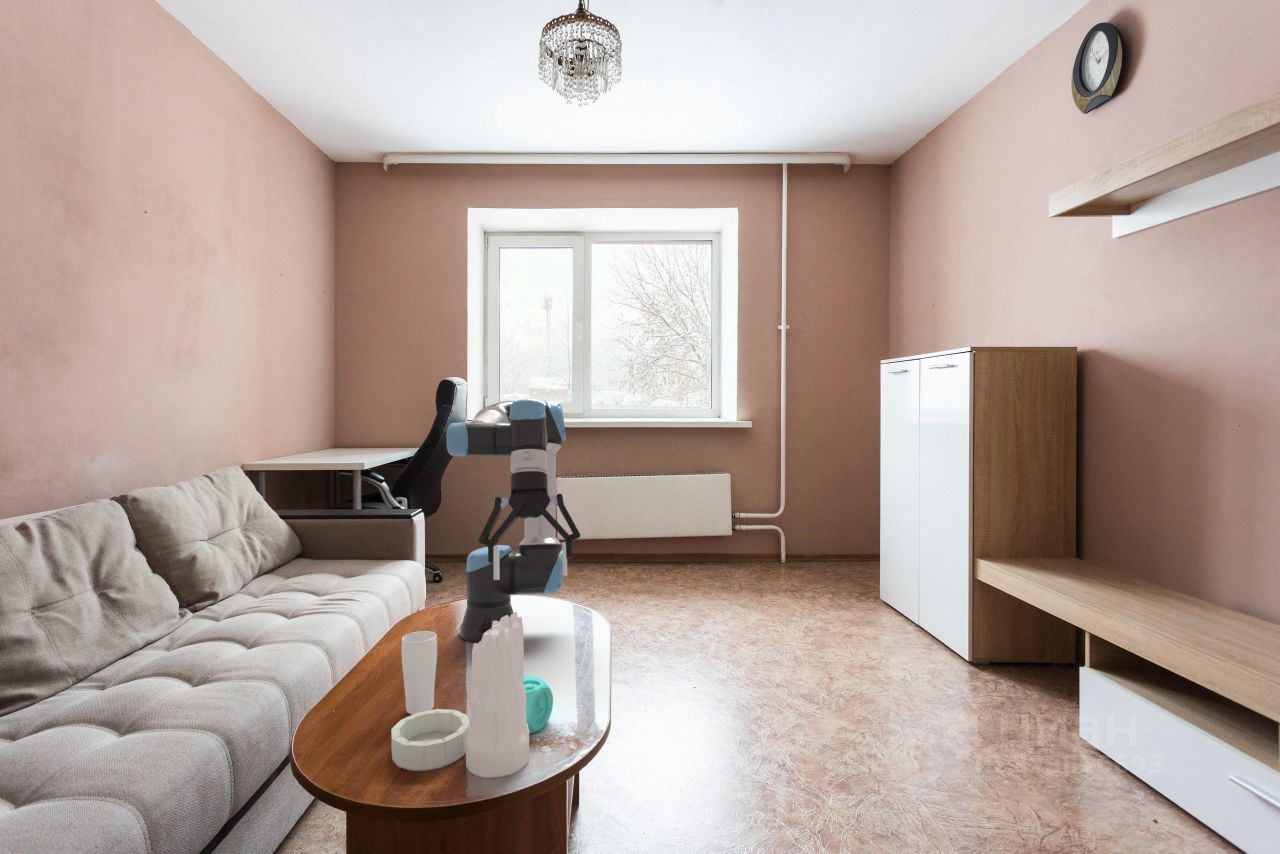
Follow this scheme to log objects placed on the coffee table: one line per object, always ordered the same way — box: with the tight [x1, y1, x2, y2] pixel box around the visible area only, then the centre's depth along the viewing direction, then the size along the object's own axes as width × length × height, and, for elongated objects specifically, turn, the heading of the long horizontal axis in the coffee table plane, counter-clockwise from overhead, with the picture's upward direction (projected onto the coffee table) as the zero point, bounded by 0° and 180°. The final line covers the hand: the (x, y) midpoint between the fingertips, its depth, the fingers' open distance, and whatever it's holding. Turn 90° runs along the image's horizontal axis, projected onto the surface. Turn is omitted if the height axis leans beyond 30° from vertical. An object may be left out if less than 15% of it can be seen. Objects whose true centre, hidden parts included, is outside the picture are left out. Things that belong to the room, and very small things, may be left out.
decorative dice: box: [523, 675, 554, 735], centre depth 121 cm, size 8×8×8 cm
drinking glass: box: [401, 630, 438, 716], centre depth 127 cm, size 7×7×15 cm
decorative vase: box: [465, 611, 530, 779], centre depth 109 cm, size 11×11×25 cm
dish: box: [390, 708, 470, 772], centre depth 112 cm, size 13×13×4 cm
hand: (531, 577), depth 126 cm, fingers open, 13 cm apart
